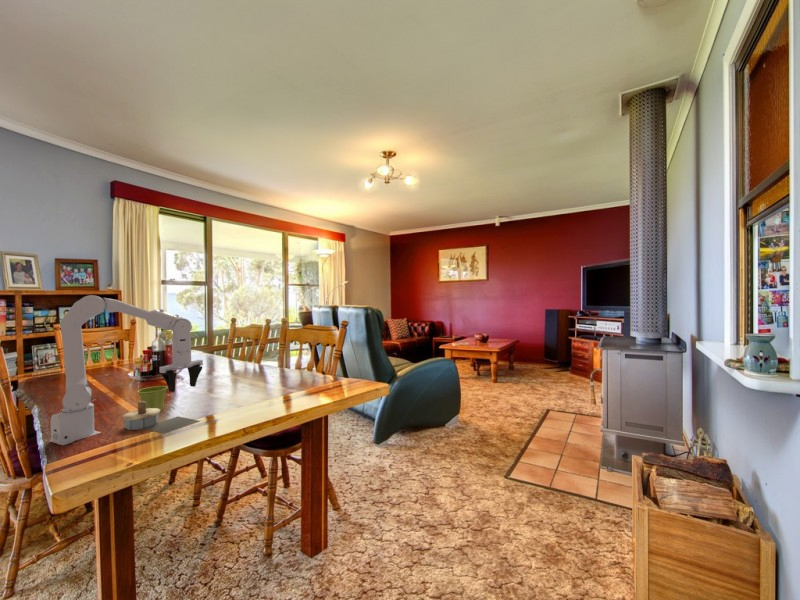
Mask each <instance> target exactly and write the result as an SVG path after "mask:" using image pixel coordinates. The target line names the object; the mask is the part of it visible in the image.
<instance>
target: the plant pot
mask: <svg viewBox="0 0 800 600" xmlns="http://www.w3.org/2000/svg"><path fill="white" fill-rule="evenodd" d="M167 389H168V386H167V385H156V386H149V387H145V388H141V389H138V390H137V394H138V396H139V398H140V402H142V401H146V409H148V408H158V409H160V412H161V411H163V410H164V407H165V406H164V405H165V400H166V399H165V398H166V394H167Z"/></svg>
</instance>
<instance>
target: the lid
mask: <svg viewBox="0 0 800 600" xmlns="http://www.w3.org/2000/svg"><path fill="white" fill-rule="evenodd" d="M160 413H161V411H160V409H158V408H148V409H146V401H142V402H141V401H138V402H137V409H136V410H133V411H130V412H127V413H125V414H123V415H122V418H123V420H138V419H144V418H148V417H152V416H155V415H157V414H159V415H160Z"/></svg>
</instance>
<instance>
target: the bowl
mask: <svg viewBox="0 0 800 600" xmlns="http://www.w3.org/2000/svg"><path fill="white" fill-rule="evenodd" d="M159 415H160V413H159V414H157V415H155V416H152V417H148V418H144V419H138V420H124V419H123V420H124V421H123V422H124V429H126V430H128V431H135V430H143V429H142V428H147V427H150V426H153V425H155V424H156V423H159V422H160V421H159V419H160V418H159V417H160V416H159Z"/></svg>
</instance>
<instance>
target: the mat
mask: <svg viewBox="0 0 800 600" xmlns="http://www.w3.org/2000/svg"><path fill="white" fill-rule="evenodd" d="M199 422H200V420H198V419H193V418H188V417H182V416H175V417H171V418H169V419H165V420H162V421H158V422H157V423H156V424H155V425H153V426H150V427H147V428H142V429H141V430H146V431H150V432H154V433H158V434H163V435H164V434H168V433H171V432H173V431H177V430H179V429H182V428H184V427H188V426H190V425H193V424H196V423H199Z"/></svg>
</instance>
